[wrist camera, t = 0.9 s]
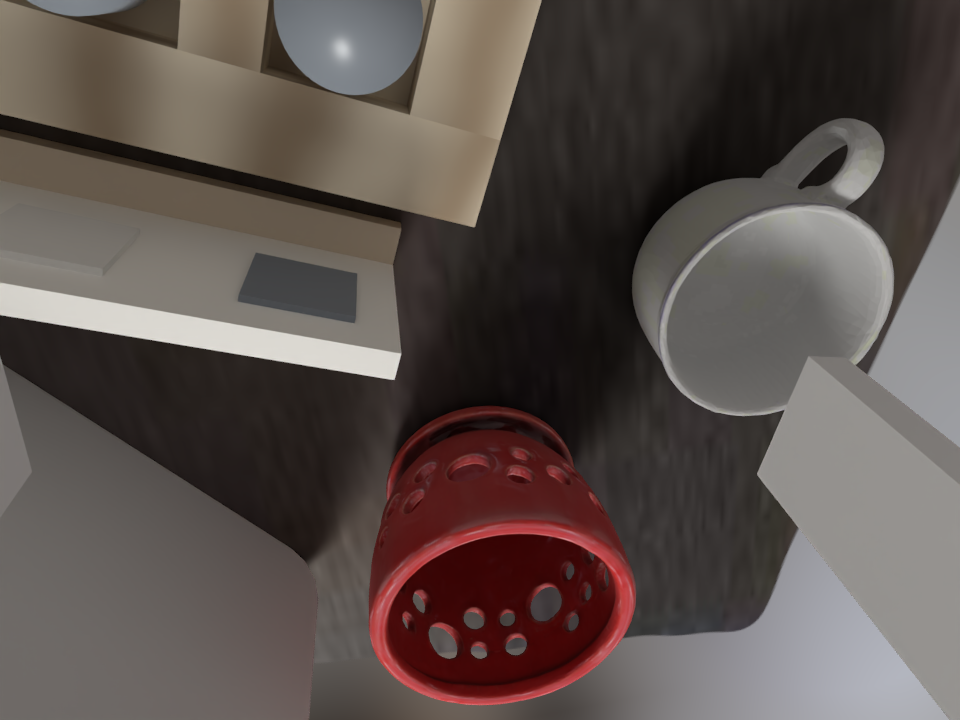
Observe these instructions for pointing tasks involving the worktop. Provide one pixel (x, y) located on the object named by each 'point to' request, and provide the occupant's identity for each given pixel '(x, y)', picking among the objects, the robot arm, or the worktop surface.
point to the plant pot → (493, 560)
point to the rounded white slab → (140, 589)
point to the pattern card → (193, 260)
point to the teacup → (766, 276)
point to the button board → (277, 95)
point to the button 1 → (350, 40)
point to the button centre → (86, 6)
